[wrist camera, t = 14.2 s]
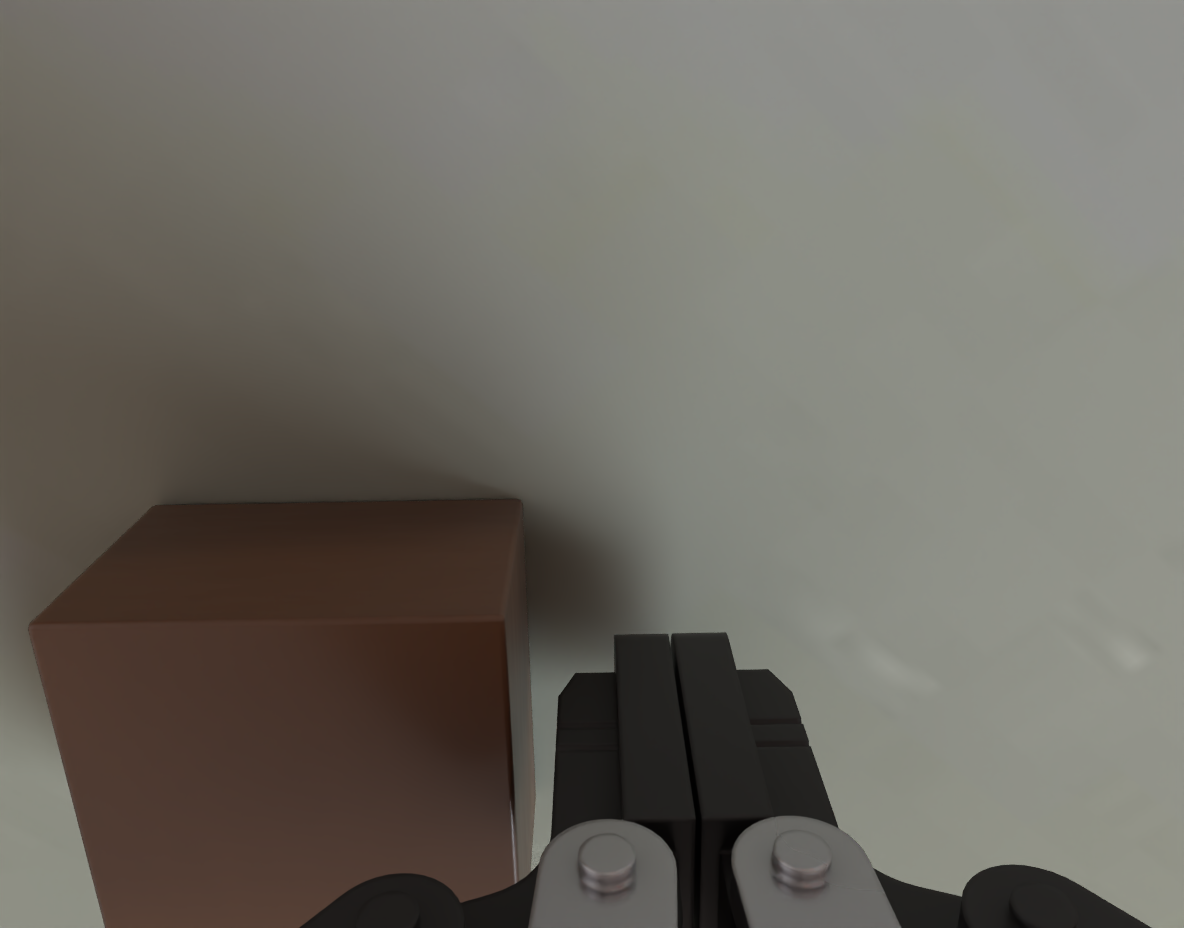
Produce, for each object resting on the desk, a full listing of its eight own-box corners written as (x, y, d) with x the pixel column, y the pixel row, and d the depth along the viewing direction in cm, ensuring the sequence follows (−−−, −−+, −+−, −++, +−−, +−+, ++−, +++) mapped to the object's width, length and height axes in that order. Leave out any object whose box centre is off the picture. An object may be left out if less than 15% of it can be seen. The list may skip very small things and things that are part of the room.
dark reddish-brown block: (152, 503, 13) (23, 624, 10) (522, 496, 13) (505, 616, 10) (211, 802, 15) (116, 981, 12) (536, 796, 15) (523, 974, 12)
